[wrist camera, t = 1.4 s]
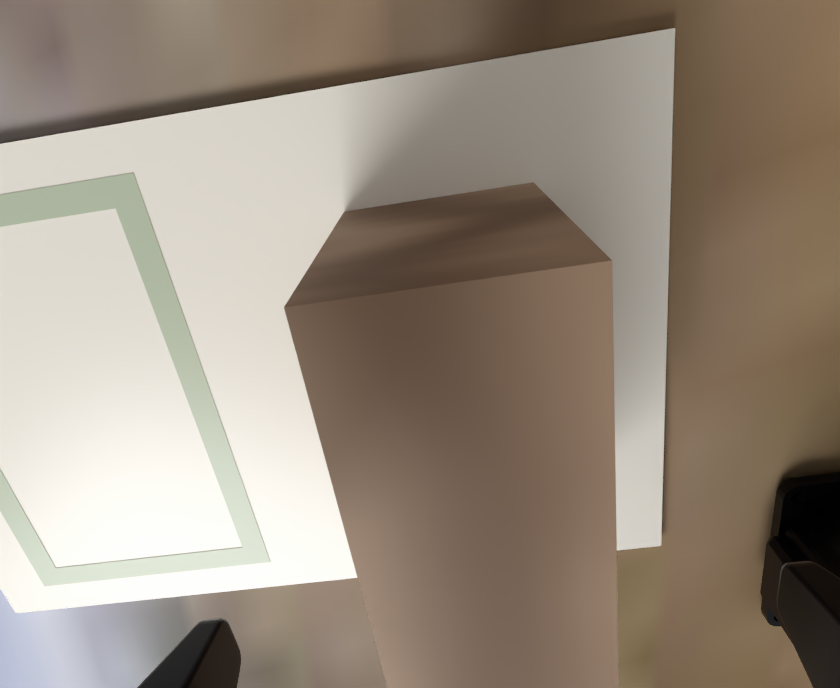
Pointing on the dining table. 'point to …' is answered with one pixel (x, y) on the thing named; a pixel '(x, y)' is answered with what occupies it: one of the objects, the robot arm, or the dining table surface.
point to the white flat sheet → (280, 307)
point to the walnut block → (470, 435)
